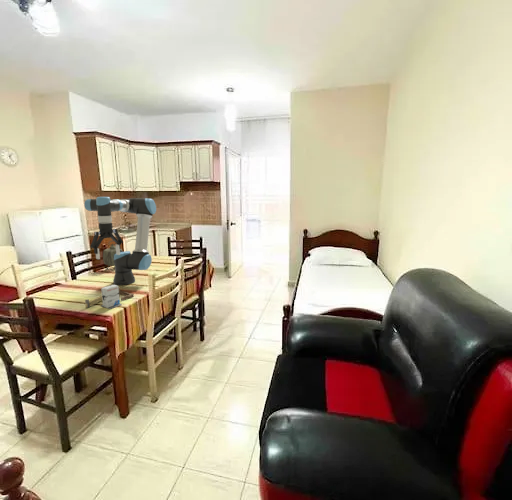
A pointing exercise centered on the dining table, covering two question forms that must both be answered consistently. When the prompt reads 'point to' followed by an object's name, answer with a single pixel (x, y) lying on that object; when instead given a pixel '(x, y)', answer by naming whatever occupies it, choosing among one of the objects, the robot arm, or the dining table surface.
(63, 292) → the dining table surface
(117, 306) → the charcoal mat
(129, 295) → the walnut cradle
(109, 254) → the tabletop clock
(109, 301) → the ink box
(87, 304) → the brass lever
